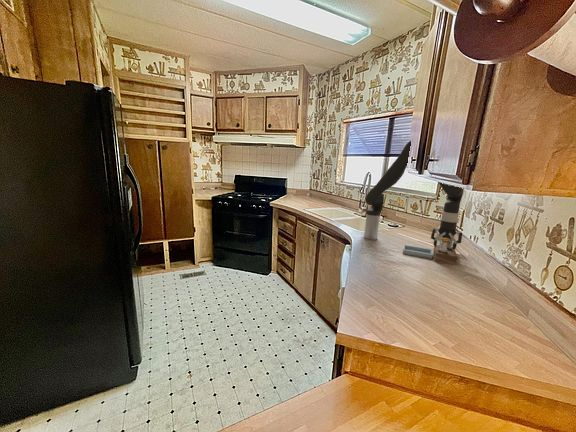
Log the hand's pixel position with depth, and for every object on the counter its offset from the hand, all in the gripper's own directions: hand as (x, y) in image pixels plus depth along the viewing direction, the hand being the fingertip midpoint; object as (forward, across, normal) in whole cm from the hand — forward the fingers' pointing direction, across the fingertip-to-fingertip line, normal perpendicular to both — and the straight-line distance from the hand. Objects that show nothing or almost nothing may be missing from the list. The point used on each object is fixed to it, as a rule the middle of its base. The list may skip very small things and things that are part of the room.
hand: (443, 247), depth 138 cm
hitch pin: (+8, 0, 0) cm, 8 cm away
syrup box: (+8, -1, -23) cm, 24 cm away
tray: (+7, +13, -4) cm, 15 cm away
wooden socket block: (+8, -1, -4) cm, 9 cm away
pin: (+8, -3, -8) cm, 11 cm away
